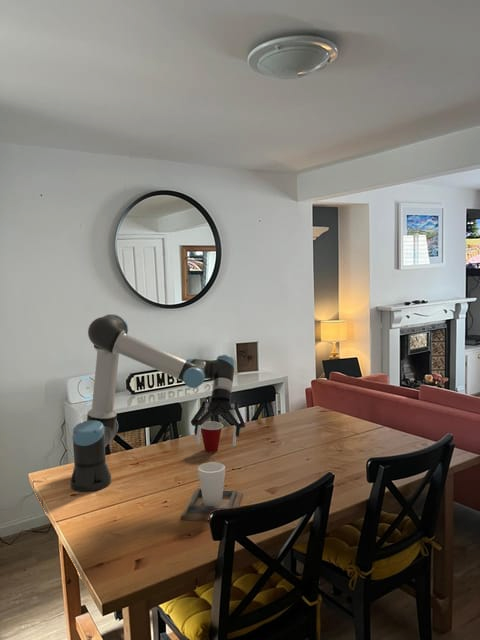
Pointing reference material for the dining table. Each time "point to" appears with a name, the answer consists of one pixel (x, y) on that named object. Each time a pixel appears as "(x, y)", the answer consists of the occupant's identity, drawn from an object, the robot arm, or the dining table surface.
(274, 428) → the dining table surface
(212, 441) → the plastic cup
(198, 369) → the robot arm
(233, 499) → the holder board
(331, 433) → the dining table surface
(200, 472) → the foam cup
